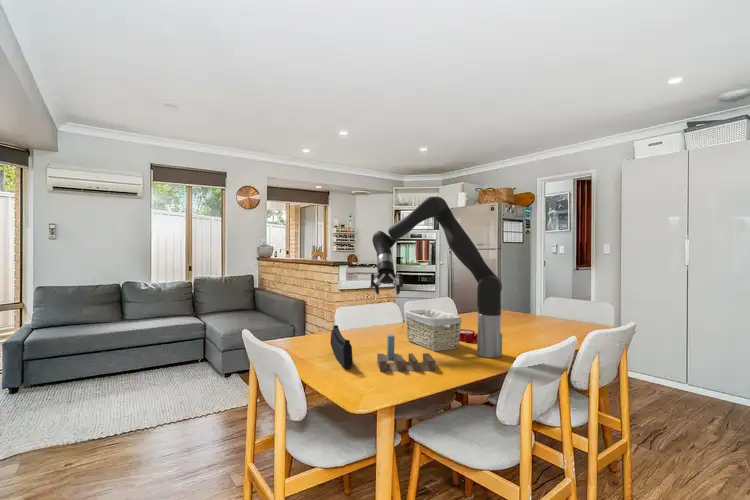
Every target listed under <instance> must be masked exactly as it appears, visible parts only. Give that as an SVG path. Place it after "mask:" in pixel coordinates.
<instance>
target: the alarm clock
mask: <svg viewBox="0 0 750 500" xmlns="http://www.w3.org/2000/svg"><path fill="white" fill-rule="evenodd" d="M459 337H460V338H459V342H460V341H461V342H465V343H472V342H477V338H478V332H475V330H471V329H465V328H464V329H461V328H460V336H459Z"/></svg>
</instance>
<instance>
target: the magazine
mask: <svg viewBox="0 0 750 500" xmlns="http://www.w3.org/2000/svg"><path fill="white" fill-rule="evenodd" d="M330 347H331V349H332V352H333V354H334V357H335V359H336V360H337V362H338V363H339V364H340V365H341V366H342V367H343V368H345V369H348V368H349V369H351V368H354V367H353V365H354V363H353V346H352V344H351V341H350V340H349V339H346V338H344V337H343V335H342V333H341V331H340V329H339V325H337V324H336V325H333V329H332V330H331V333H330Z"/></svg>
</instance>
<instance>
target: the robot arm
mask: <svg viewBox="0 0 750 500" xmlns="http://www.w3.org/2000/svg"><path fill="white" fill-rule="evenodd" d="M431 218H433V219H435V220H436V221H437V222H438V224H439V225H440V226H441V228H442V229H443V232H444V235H445V239H446V242H447V244H448V246H449V248H450V249H451V251H452V253H453V254H454V255H455V256H456V258H457V259H458V260H459V261H460V263H462V265H463V266H465V267H466V269H467V270H469V272H470V273H471V274H472V275H473V277H474V278H475V280H476V282H477V288H476V290H477V291H476V295H477V296H476V299H477V301H476V302H477V303H476V305H477V306H476V307H477V333H478V338H477V341H476V344H477V345H476V352H477V353H476V354H477V355H478V356H479V357H484V358H490V359H491V358H492V359H493V358H499V357H502V356H503V333H502V332H501V330H502V329H501V322H502V321H501V319H502V317H501V316H502V314H501V313H502V308H501V307H502V306H501V291H502V290H503V285H502V281H501V279H500V278H499V277H498V276H497V274H495V272H494V271H493V270H491V268H490V267H489V266H488V264H487V263H486V262H485V260H484V258H483V256H482V255H481V253H480V251H479V249H478V248H477V247H476V245H475V244H474V242H473V241H472V239H471V238H470V236H469V235H468V234H467V233H466V231H465V230H464V228H463V227H462V226H461V224H460V223H459V222H458V220H457V219H456V217H455V216H454V214H453V212H452V210H451V208H450V207H449V205H448V203H447V201H446V200H445V199H444V198H443V197H440V196H428V197H426V198H425V199H424V200H423V201H422V202H421V203H420V204H419V205H418V206H417V207H416V208H415V209H413V210H412V211H411V212H410V213H409V214H407V215H406V216H404V217H403V218H401V219H400V220H399V221H397V222H396V223H394V224H392V225H391V226H390V227H389V228H388V230H387V231H388V234H387V233H385V232H384V231H382V230H378V231H376V232H374V234H373V235H372V245H373V248H374V250H375V252H376V270H377V274H375V273H371V275H370V288H373V287H374V293H375V294H376V295H379V294H380V286H381V285H382V284H383V285H386V284H387V285H390V284H391V286H393V287H395V294H396V295H397V296H398V295H399V294H400V292H401V288H403V287H404V279H403V274H402V273H399V274H396V273H395V266H394V259H393V254H392V248H393V246H394V245H395V244H396V243H397V242H398V241H399V239H401V238H402V237H404V236H405V235H407V234H409V233H410V232H411V231H413V229H414V228H416V226H417V225H419V224H421V223H422V222H424V221H427V220H429V219H431ZM376 279H377V280H376ZM375 280H376V282H375Z"/></svg>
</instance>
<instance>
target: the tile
mask: <svg viewBox="0 0 750 500" xmlns="http://www.w3.org/2000/svg"><path fill="white" fill-rule="evenodd" d="M386 336H387V337H386V339H387V340H386V355H387V358H388V359H394V354H395V339H396V338H395V334H393V333H391V334H389V333H387V335H386Z"/></svg>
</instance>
